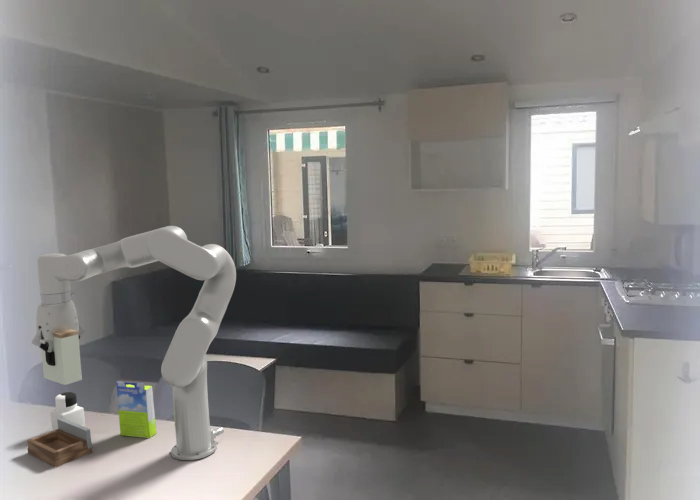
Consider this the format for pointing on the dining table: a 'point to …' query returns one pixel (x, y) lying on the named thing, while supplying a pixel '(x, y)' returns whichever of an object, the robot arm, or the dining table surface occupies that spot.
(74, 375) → the tall rectangular pillar
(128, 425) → the box
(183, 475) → the dining table surface
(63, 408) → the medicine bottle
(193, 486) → the dining table surface
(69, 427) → the slot rack
